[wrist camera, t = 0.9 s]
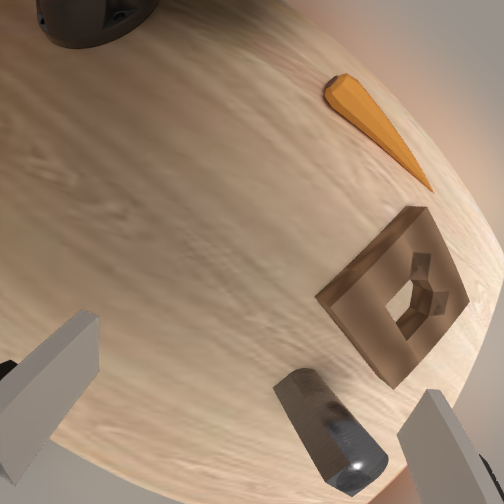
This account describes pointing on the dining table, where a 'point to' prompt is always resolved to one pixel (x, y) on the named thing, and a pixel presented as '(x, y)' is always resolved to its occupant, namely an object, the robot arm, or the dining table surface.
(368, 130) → the carrot
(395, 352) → the socket block
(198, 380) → the dining table surface
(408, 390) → the dining table surface
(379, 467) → the d peg
